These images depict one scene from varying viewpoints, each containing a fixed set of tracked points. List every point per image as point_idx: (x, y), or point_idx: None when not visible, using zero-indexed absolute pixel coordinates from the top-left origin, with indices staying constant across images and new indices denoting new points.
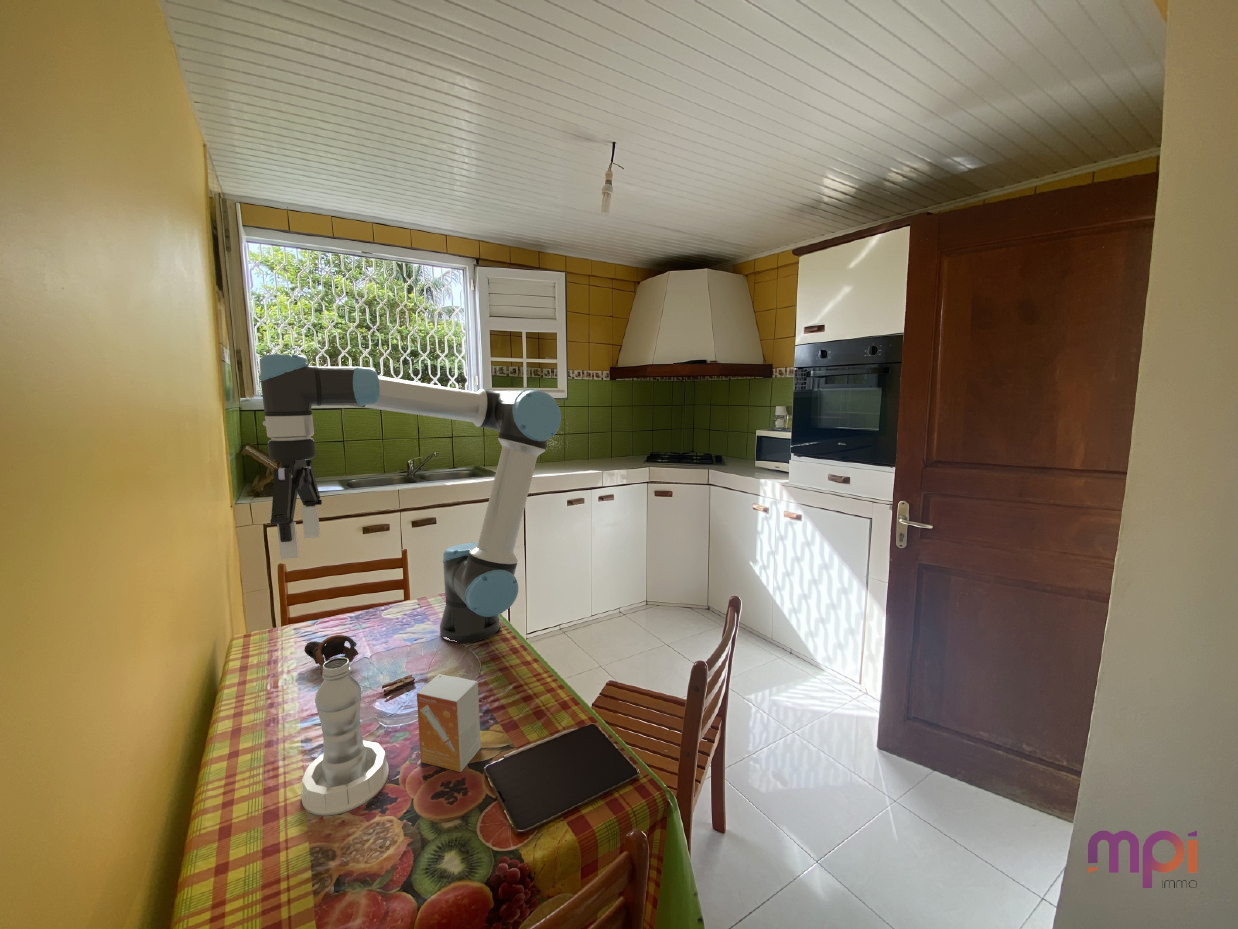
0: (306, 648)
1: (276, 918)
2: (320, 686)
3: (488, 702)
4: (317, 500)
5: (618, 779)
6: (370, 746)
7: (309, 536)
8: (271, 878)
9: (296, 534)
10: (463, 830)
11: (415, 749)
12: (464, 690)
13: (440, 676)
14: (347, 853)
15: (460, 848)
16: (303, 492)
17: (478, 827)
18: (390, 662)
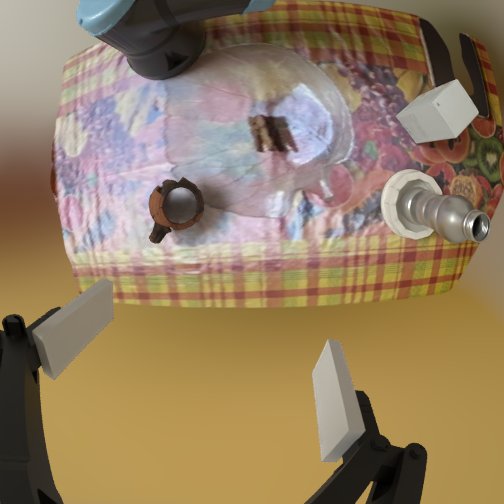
0: (160, 241)
1: (476, 248)
2: (462, 240)
3: (354, 60)
4: (8, 334)
5: (471, 48)
6: (405, 181)
7: (110, 308)
8: (455, 252)
9: (344, 391)
10: (479, 143)
11: (397, 142)
12: (467, 97)
13: (437, 103)
14: None
15: (487, 150)
16: (36, 430)
17: (480, 134)
18: (201, 139)
